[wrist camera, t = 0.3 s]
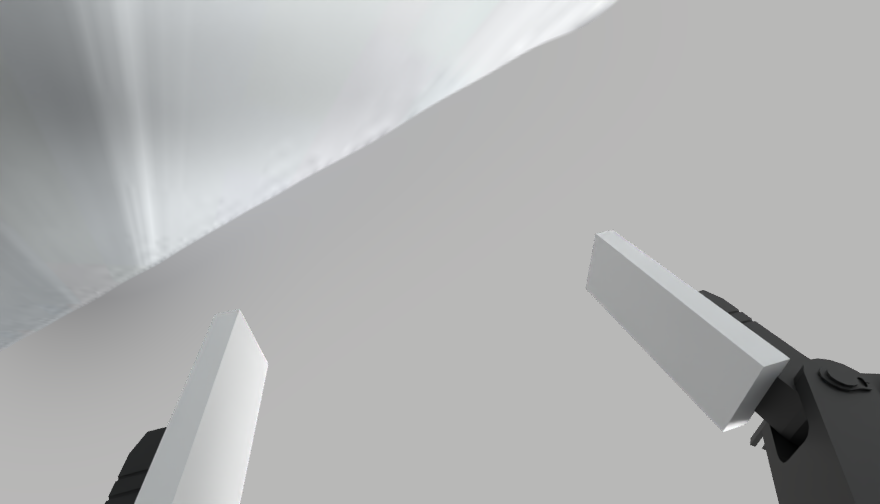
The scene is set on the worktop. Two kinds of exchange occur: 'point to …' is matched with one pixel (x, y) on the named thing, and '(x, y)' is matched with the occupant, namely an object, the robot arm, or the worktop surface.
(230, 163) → the worktop surface
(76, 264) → the worktop surface
